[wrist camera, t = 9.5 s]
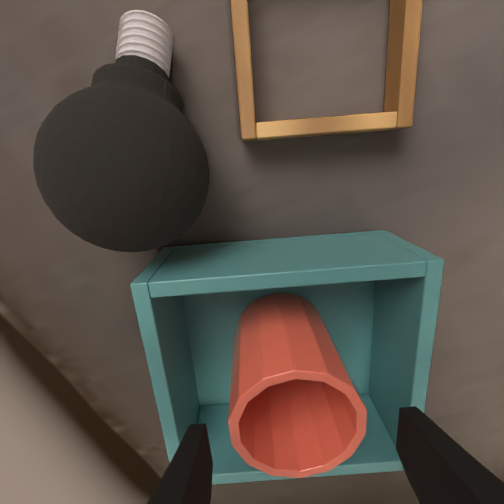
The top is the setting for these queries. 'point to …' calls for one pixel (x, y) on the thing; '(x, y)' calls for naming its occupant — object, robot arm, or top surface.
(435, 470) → the robot arm
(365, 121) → the frame
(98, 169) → the light bulb
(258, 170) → the top surface
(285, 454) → the cup
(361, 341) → the open storage box
